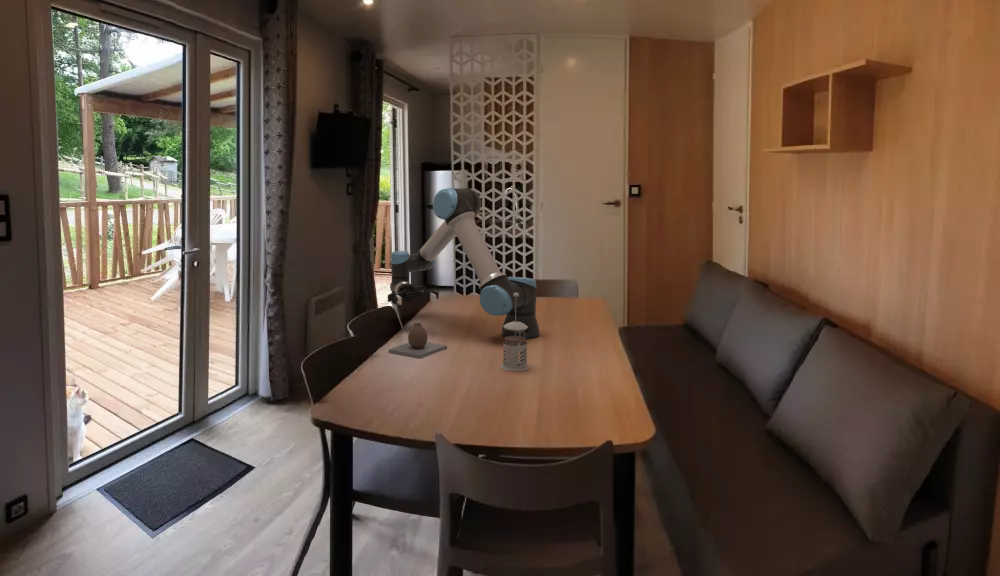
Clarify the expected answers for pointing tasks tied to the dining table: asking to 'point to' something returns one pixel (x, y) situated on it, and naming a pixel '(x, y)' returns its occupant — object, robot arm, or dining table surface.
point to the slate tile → (417, 350)
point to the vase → (417, 336)
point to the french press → (515, 347)
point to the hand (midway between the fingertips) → (418, 300)
